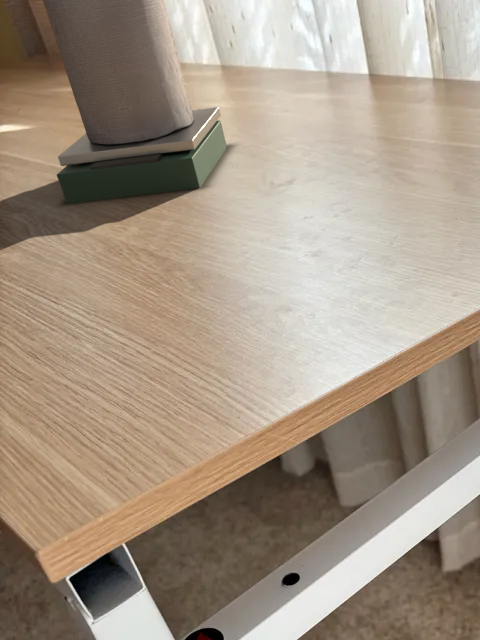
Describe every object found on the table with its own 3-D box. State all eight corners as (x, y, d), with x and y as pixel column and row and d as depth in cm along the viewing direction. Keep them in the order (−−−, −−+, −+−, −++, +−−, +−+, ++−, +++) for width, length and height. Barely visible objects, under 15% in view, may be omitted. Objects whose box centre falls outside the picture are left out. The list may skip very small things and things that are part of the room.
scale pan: (60, 166, 71) (57, 156, 70) (101, 130, 80) (99, 122, 79) (194, 149, 70) (192, 139, 69) (220, 115, 79) (218, 106, 78)
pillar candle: (93, 128, 78) (29, -67, 68) (195, 110, 78) (146, -85, 69) (83, 152, 70) (10, -62, 61) (196, 133, 71) (141, -82, 61)
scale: (66, 204, 71) (54, 171, 70) (110, 162, 81) (100, 132, 80) (200, 188, 70) (191, 154, 69) (227, 147, 80) (220, 117, 78)
